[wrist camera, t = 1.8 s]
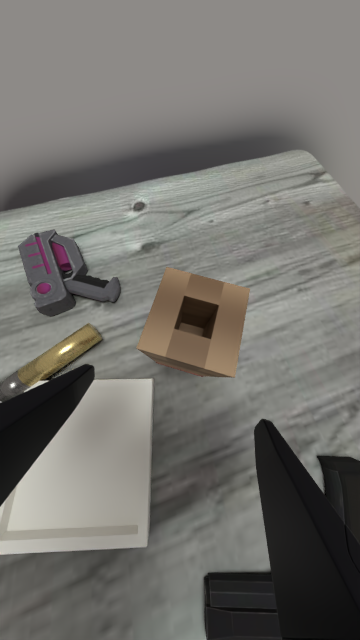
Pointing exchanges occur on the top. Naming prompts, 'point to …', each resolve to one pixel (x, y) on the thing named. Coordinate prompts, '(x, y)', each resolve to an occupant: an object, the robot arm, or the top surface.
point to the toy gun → (60, 274)
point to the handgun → (257, 590)
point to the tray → (88, 477)
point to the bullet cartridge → (49, 362)
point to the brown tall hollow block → (195, 324)
